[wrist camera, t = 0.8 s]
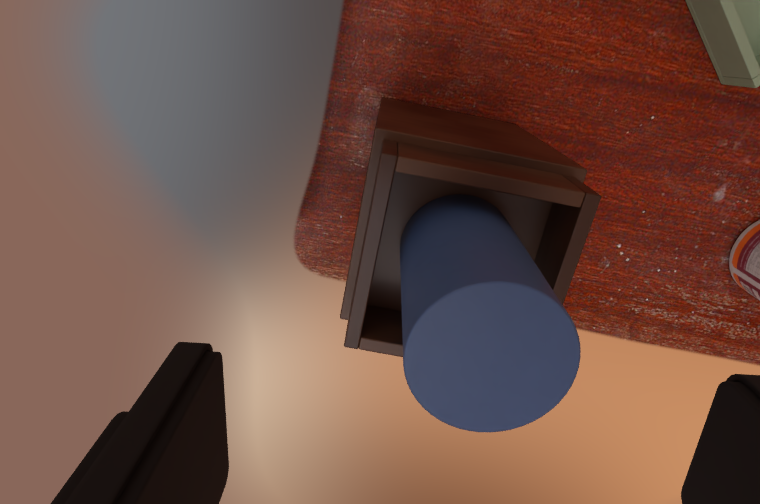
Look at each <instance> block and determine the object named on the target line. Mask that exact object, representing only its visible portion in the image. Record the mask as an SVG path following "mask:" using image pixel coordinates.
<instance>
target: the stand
mask: <svg viewBox="0 0 760 504" xmlns="http://www.w3.org/2000/svg"><path fill="white" fill-rule="evenodd" d="M586 173H587V169H585V168H583V167H582V166H580V165H579V164H577V163H576V162H574V161H572V160H571V159H569V158H568V157H566V156H565V155H563V154H561V153H560V152H558V151H557V150H555V149H554V148H552V147H550V146H549V145H547V144H546V143H544V142H543V141H541V140H539V139H538V138H536V137H535V136H533V135H532V134H530V133H528V132H527V131H525V130H524V129H522V128H521V127H519V126H517V125H516V124H513V123H508V122H503V121H499V120H494V119H489V118H484V117H479V116H474V115H469V114H464V113H459V112H454V111H449V110H444V109H439V108H434V107H430V106H425V105H420V104H415V103H410V102H405V101H400V100H395V99H390V98H385V97H382V100H381V105H380V109H379V113H378V118H377V122H376V127H375V132H374V137H373V143H372V148H371V153H370V159H369V164H368V169H367V175H366V180H365V185H364V191H363V196H362V202H361V207H360V212H359V218H358V223H357V228H356V234H355V239H354V244H353V250H352V255H351V260H350V266H349V271H348V276H347V282H346V287H345V292H344V298H343V304H342V309H341V314H340V318H341V319H345V320H348V325H347V331H346V337H345V343H344V346H345V347H349V348H354V349H358V347H359V349H361V350H366V351H372V352H377V353H383V354H389V355H394V356H400V357H403V337H402V305H401V273H400V242H401V237H402V234H403V231H404V229H405V226H406V225H407V223H408V221H409V220H410V218H411V217H412V216H413V215H414V214H415V213H416V212H417V211H418V210H419V209H420V208H421V207H423V206H424V205H425V204H427V203H429V202H431V201H432V200H435V199H437V198H440V197H444V196H447V195H455V194H463V195H471V196H475V197H478V198H481V199H483V200H486V201H487V202H489V203H491V204H492V205H494V206H495V207H496V208H497V209H498V210H499V211H500V212H501V213H502V214H503V215H504V217H505V218H506V219H507V221H508V222H509V224H510V226H511V227H512V229H513V230H514V232H515V233H516V235H517V236H518V238H519V239H520V241H521V242H522V244H523V245H524V247H525V248H526V250H527V252H528V253H529V255H530V256H531V258H532V259H533V261H534V262H535V264H536V265H537V267H538V268H539V270H540V271H541V273H542V274H543V276H544V278H545V279H546V281H547V282H548V284H549V285H550V287H551V288H552V290H553V291H554V293H555V294H556V296H557V297H558V299H559V300H560V302H561V304H562V305H563V303H564V300H565V297H566V294H567V291H568V289H569V286H570V283H571V280H572V277H573V275H574V272H575V269H576V266H577V263H578V261H579V258H580V255H581V252H582V249H583V247H584V244H585V241H586V238H587V235H588V233H589V230H590V227H591V224H592V221H593V219H594V216H595V213H596V210H597V208H598V205H599V202H600V199H601V196H600V195H599V194H598V193H596V192H595V191H593V190H592V189H591V188H589V187H588V186H586V185H585V184H584V183H583V181H584V179H585V176H586Z"/></svg>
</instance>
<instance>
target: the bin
mask: <svg viewBox="0 0 760 504" xmlns="http://www.w3.org/2000/svg"><path fill="white" fill-rule="evenodd" d="M685 1H686V3H687V6H688V8H689V10H690V12H691V15H692V17H693V19H694V22H695V24H696V26H697V29H698V31H699V33H700V36H701V38H702V40H703V43H704V45H705V47H706V50H707V52H708V54H709V57H710V59H711V61H712V64H713V66H714V68H715V70H716V73H717V75H718V77H719V80H720V82H721V84H726V85H734V86H743V87H752V88H757V87H758V86H760V0H685Z"/></svg>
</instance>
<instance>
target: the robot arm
mask: <svg viewBox="0 0 760 504" xmlns="http://www.w3.org/2000/svg"><path fill="white" fill-rule="evenodd" d="M228 469H229V461H228V444H227V428H226V413H225V395H224V378H223V362H222V355H221V353H220V352H213V349H212V347H211V345H210V344H206V343H188V342H178V343H177V344H176V345H175V347H174V348H173V349H172V351H171V352H170V354H169V355H168V357H167V358H166V359H165V361H164V362H163V364H162V365H161V367H160V368H159V370H158V371H157V372H156V374H155V375H154V377H153V378H152V379H151V381H150V382H149V384H148V385H147V387H146V388H145V389H144V391H143V392H142V394H141V395H140V397H139V398H138V399H137V401H136V402H135V404H134V405H133V407H132V408H131V410H130V411H129V412H121V413H119V414H117V415H116V416H115V417H114V418H113V419H112V420H111V422H110V423H109V424H108V426H107V427H106V429H105V430H104V431H103V433H102V434H101V435H100V437H99V438H98V440H97V441H96V442H95V444H94V445H93V446H92V448H91V449H90V451H89V452H88V453H87V455H86V456H85V457H84V459H83V460H82V462H81V463H80V464H79V466H78V467H77V468H76V470H75V471H74V473H73V474H72V475H71V477H70V478H69V479H68V481H67V482H66V483H65V485H64V486H63V488H62V489H61V490H60V492H59V493H58V494H57V496H56V497H55V498H54V500H53V501H52V503H51V504H219V501H220V499H221V496H222V493H223V491H224V488H225V485H226V481H227V477H228ZM681 499H682V504H760V375H742V374H735V375H731V376H730V377H729V378H728V379H727V380H726V381H725V382H722V383H721V384H720V385H719V386H718V388H717V391H716V394H715V397H714V399H713V402H712V405H711V408H710V411H709V414H708V416H707V420H706V422H705V425H704V428H703V431H702V433H701V436H700V439H699V442H698V445H697V448H696V450H695V453H694V456H693V459H692V462H691V465H690V467H689V470H688V473H687V476H686V479H685V482H684V485H683V487H682V492H681Z"/></svg>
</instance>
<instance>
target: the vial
mask: <svg viewBox="0 0 760 504" xmlns="http://www.w3.org/2000/svg"><path fill="white" fill-rule="evenodd" d="M400 273H401V305H402V337H403V366H404V372H405V377H406V380H407V384H408V385H409V388H410V390H411V392H412V394H413V395H414V396H415V398H416V400H417V401H418V402H419V403H420V404H421V405H422V407H423V408H424V409H425V410H427V411H428V412H429V413H430V414H431V415H433V416H434V417H436V418H437V419H439V420H440V421H442V422H444V423H446V424H448V425H451V426H454V427H456V428H459V429H464V430H468V431H475V432H498V431H506V430H511V429H514V428H517V427H521V426H524V425H526V424H528V423H531V422H533V421H535V420H536V419H538V418H540V417H542V416H543V415H545V414H546V413H547V412H549V411H550V410H551V409H553V408H554V407H555V406H556V405H557V404H558V403H559V402H560V401H561V399H562V398H563V397H564V396H565V395H566V393H567V392H568V390H569V389H570V387H571V386H572V384H573V381H574V379H575V377H576V374H577V371H578V368H579V362H580V342H579V336H578V333H577V330H576V327H575V325H574V323H573V321H572V319H571V317H570V316H569V314H568V313H567V311H566V310H565V308H564V307H563V305H562V304H561V302H560V300H559V299H558V297H557V296H556V294H555V293H554V291H553V290H552V288H551V287H550V285H549V284H548V282H547V281H546V279H545V278H544V276H543V274H542V273H541V271H540V270H539V268H538V267H537V265H536V264H535V262H534V261H533V259H532V258H531V256H530V255H529V253H528V252H527V250H526V248H525V247H524V245H523V244H522V242H521V241H520V239H519V238H518V236H517V235H516V233H515V232H514V230H513V229H512V227H511V226H510V224H509V222H508V221H507V219H506V218H505V217H504V215H503V214H502V213H501V212H500V211H499V210H498V209H497V208H496V207H495V206H494V205H492V204H491V203H489V202H487V201H486V200H483V199H481V198H478V197H475V196H471V195H463V194H455V195H447V196H444V197H440V198H437V199H435V200H432V201H431V202H429V203H427V204H425V205H424V206H423V207H421V208H420V209H419V210H418V211H417V212H416V213H415V214H414V215H413V216H412V217H411V218H410V220H409V221H408V223H407V225H406V226H405V229H404V231H403V234H402V237H401V242H400Z"/></svg>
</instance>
